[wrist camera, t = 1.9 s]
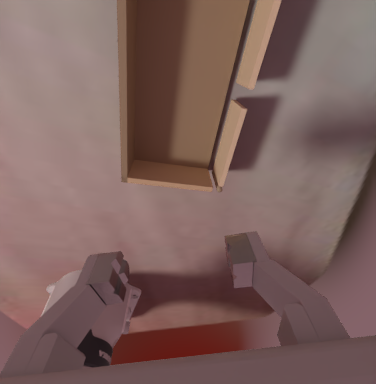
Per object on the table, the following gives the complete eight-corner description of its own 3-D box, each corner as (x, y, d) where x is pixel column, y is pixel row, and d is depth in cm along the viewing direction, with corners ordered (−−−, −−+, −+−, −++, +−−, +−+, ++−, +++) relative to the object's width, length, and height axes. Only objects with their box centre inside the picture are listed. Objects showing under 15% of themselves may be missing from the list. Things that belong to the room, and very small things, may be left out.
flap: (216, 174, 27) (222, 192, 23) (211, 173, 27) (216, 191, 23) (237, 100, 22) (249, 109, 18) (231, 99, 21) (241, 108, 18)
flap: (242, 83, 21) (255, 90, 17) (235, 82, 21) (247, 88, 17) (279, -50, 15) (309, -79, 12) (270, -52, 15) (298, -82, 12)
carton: (206, 170, 27) (211, 191, 23) (130, 161, 26) (121, 181, 22) (260, -51, 16) (289, -86, 12) (131, -87, 15) (113, -141, 10)
